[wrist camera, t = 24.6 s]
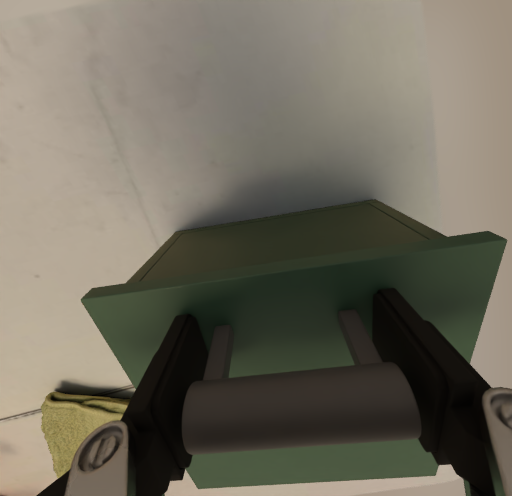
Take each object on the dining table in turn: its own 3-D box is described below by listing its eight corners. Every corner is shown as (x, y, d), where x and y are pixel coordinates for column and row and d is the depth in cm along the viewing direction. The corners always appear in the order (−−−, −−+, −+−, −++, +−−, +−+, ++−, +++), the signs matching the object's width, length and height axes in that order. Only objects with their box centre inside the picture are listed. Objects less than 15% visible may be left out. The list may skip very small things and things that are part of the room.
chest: (175, 231, 20) (113, 294, 12) (375, 198, 18) (465, 245, 10) (220, 369, 26) (200, 473, 18) (373, 353, 24) (427, 459, 16)
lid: (91, 287, 10) (-38, 411, 6) (488, 230, 9) (722, 337, 4) (200, 474, 18) (179, 593, 13) (428, 460, 16) (492, 589, 12)
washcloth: (166, 395, 28) (155, 426, 25) (163, 477, 35) (153, 508, 32) (48, 378, 27) (22, 407, 24) (69, 464, 34) (50, 495, 31)
